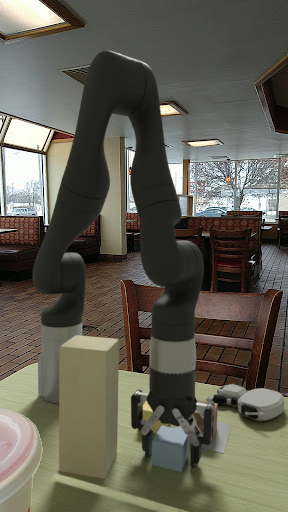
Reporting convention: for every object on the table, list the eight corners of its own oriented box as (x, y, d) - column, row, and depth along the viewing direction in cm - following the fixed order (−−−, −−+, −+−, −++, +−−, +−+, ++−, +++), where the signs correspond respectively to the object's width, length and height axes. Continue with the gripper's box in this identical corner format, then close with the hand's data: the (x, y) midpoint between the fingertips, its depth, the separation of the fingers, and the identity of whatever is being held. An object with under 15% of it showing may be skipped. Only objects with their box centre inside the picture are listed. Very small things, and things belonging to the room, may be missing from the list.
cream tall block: (119, 455, 65) (120, 337, 63) (106, 483, 58) (106, 351, 56) (76, 448, 67) (76, 333, 65) (58, 475, 60) (57, 346, 58)
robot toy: (202, 412, 83) (266, 434, 72) (201, 391, 83) (266, 411, 72) (232, 394, 91) (293, 412, 81) (231, 376, 91) (292, 391, 81)
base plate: (168, 444, 68) (168, 440, 68) (182, 418, 78) (182, 415, 78) (223, 457, 65) (223, 453, 65) (231, 428, 74) (231, 424, 74)
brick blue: (151, 469, 62) (151, 440, 61) (161, 452, 66) (161, 425, 66) (181, 477, 60) (181, 447, 59) (188, 459, 65) (189, 431, 64)
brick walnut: (185, 436, 70) (185, 410, 69) (191, 423, 74) (192, 398, 74) (211, 442, 68) (212, 415, 68) (216, 428, 73) (217, 403, 72)
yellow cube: (138, 433, 72) (138, 408, 72) (147, 421, 77) (147, 397, 76) (162, 439, 70) (163, 413, 70) (170, 426, 75) (171, 402, 75)
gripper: (123, 364, 61) (122, 461, 62) (211, 377, 56) (209, 483, 57) (140, 350, 68) (139, 437, 69) (220, 361, 63) (217, 455, 64)
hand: (171, 458), depth 63 cm, fingers open, 7 cm apart
